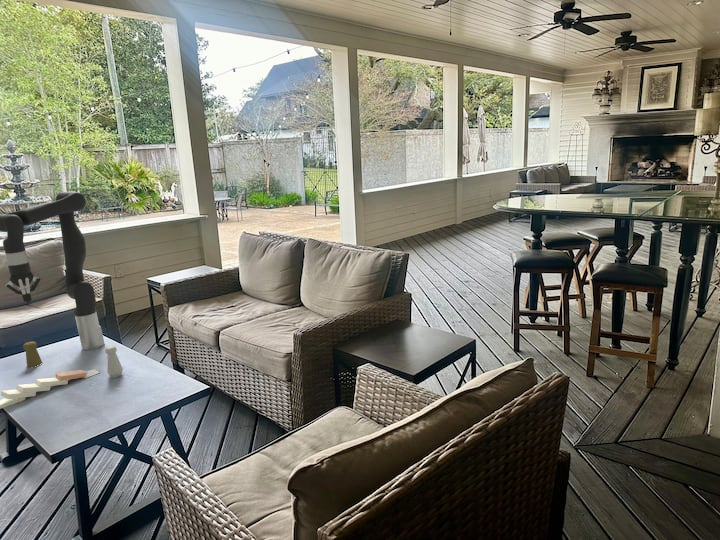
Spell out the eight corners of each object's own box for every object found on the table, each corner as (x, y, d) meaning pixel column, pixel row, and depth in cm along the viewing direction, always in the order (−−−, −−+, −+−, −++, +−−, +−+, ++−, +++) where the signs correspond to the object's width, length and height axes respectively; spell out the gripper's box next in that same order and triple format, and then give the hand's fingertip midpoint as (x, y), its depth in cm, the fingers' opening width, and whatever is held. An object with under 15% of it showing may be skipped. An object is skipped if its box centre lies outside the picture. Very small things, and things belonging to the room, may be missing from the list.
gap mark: (94, 369, 216) (94, 369, 216) (99, 373, 212) (99, 372, 212) (79, 374, 212) (79, 374, 212) (84, 378, 208) (84, 378, 208)
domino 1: (28, 388, 198) (1, 390, 189) (36, 391, 195) (8, 394, 187) (28, 392, 198) (0, 395, 189) (35, 396, 195) (7, 399, 187)
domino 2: (20, 392, 196) (-10, 403, 189) (24, 396, 193) (-6, 407, 186) (22, 396, 197) (-8, 407, 190) (25, 400, 194) (-5, 411, 186)
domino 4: (63, 376, 207) (36, 379, 199) (68, 379, 204) (40, 382, 196) (62, 381, 207) (35, 383, 199) (67, 384, 204) (40, 386, 196)
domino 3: (44, 382, 202) (17, 384, 194) (50, 386, 200) (23, 388, 191) (43, 387, 202) (16, 389, 194) (49, 390, 199) (22, 392, 191)
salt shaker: (126, 372, 211) (120, 344, 208) (118, 378, 206) (112, 349, 202) (113, 372, 212) (107, 344, 209) (105, 379, 206) (99, 350, 203)
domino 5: (81, 369, 212) (55, 373, 205) (86, 372, 209) (60, 376, 201) (81, 373, 212) (55, 377, 205) (86, 376, 209) (60, 380, 202)
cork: (28, 364, 228) (22, 341, 225) (43, 360, 230) (37, 338, 227) (25, 369, 222) (20, 346, 219) (41, 365, 225) (35, 343, 222)
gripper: (1, 267, 199) (11, 308, 203) (38, 260, 208) (48, 299, 213) (-3, 264, 204) (7, 304, 209) (33, 258, 213) (42, 296, 218)
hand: (27, 302), depth 211 cm, fingers closed
